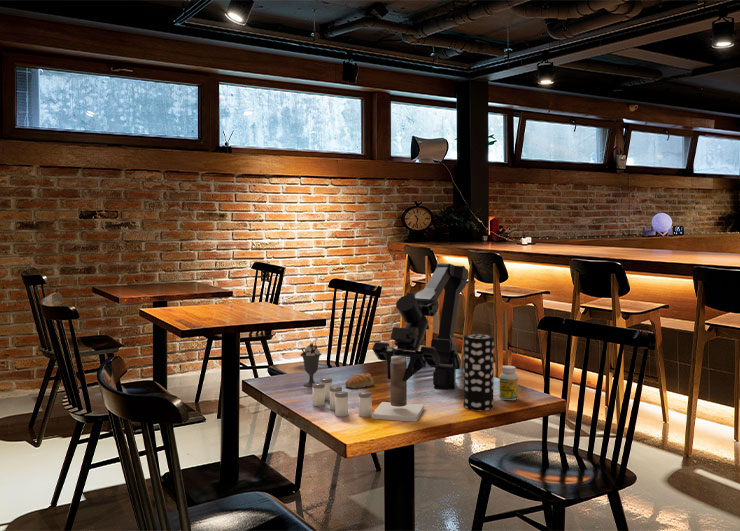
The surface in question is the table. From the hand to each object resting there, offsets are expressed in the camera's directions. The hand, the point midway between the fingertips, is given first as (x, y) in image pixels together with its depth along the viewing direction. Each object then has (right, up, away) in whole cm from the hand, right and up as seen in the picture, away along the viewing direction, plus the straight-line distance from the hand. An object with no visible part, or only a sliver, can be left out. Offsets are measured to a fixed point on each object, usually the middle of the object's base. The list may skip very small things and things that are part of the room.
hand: (396, 379), depth 175 cm
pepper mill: (+1, -7, +2) cm, 7 cm away
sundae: (-26, -8, +33) cm, 43 cm away
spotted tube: (+23, -9, +8) cm, 27 cm away
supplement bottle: (+34, -9, +16) cm, 38 cm away
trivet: (+1, -10, +2) cm, 10 cm away
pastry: (-10, -8, +33) cm, 35 cm away
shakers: (-16, -9, +7) cm, 20 cm away
